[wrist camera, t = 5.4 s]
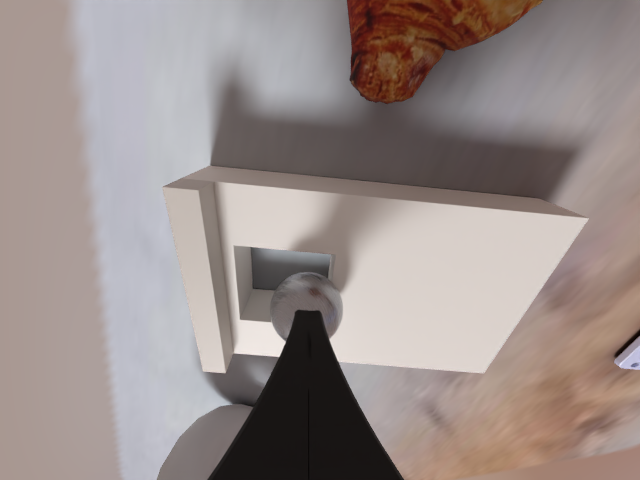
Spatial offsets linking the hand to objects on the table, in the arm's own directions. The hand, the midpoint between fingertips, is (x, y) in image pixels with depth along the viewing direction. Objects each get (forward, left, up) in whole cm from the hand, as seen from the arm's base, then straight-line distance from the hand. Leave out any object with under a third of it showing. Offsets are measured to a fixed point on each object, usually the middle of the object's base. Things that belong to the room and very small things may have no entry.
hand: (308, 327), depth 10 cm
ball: (0, 0, -1) cm, 1 cm away
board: (-3, 0, -5) cm, 5 cm away
